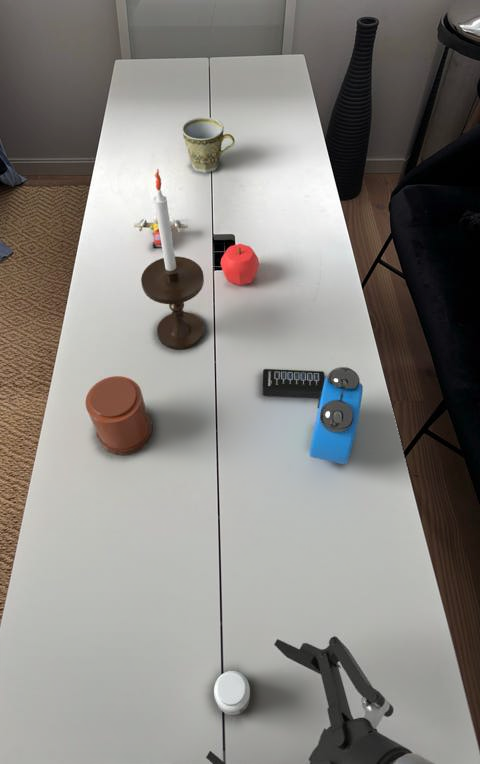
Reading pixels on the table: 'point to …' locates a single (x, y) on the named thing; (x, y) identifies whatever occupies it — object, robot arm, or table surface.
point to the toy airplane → (155, 226)
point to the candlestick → (173, 285)
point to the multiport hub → (292, 383)
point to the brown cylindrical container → (119, 415)
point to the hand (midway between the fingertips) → (250, 701)
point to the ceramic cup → (204, 142)
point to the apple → (239, 264)
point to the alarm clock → (337, 416)
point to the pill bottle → (232, 692)
